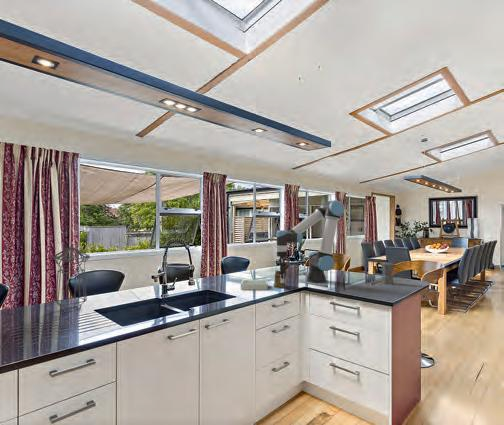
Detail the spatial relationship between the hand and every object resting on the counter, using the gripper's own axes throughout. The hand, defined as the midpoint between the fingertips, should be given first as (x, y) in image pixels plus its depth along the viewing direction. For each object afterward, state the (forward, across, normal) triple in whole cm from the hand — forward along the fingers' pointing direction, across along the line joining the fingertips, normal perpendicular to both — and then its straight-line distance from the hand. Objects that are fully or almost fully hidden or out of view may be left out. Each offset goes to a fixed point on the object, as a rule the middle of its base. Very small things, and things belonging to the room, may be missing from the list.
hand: (282, 281), depth 237 cm
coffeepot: (+4, -15, +80) cm, 81 cm away
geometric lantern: (+4, +67, -119) cm, 137 cm away
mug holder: (+4, +5, -20) cm, 21 cm away
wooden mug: (+4, 0, 0) cm, 4 cm away
